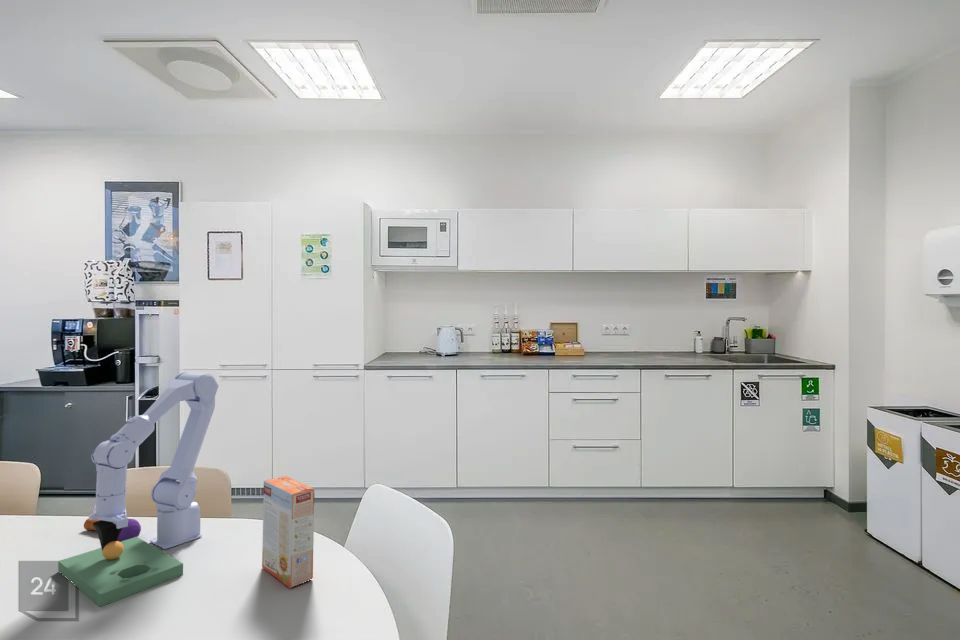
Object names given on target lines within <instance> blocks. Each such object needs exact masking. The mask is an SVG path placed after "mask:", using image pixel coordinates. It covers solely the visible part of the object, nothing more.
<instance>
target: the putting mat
mask: <svg viewBox="0 0 960 640" xmlns="http://www.w3.org/2000/svg"><path fill="white" fill-rule="evenodd" d="M121 543H122V544H123V547H124V550H123V553H122V554H121V555H120V556H119V557H118V558H116V559H113V560H108V559H106V558H104V556H103V554H102V552H103V551H102V548H101V547H98V548H96V549H93V550H90V551H86V552H84V553H80V554H77V555H74V556H71V557H68V558H67V557H66V558H63V559H61V560H58V561H57V562H58V563H57V564H58V566H57V569H58V570H57V571H59V572H61V573H62V574H63V575H64V576H66V577H67V578H68V579H69V580H70V581H72V582H73V583H74V584H75V585H76V586H77V587H78V588H79V589H80V590H79V591H81V592H82V593H83V594H84V595H85V596H86V597H88V598H89V597H90V598H91V599H90V598H89V599H90V600H91V601H93V602H94V601H95V602H96V603H97V604H96V603H95V602H94V603H95V604H96V605H97V606H98V607H100V606H101V607H104V606H105V605H108V603H109V604H111V603H114V602H115V601H116V602H117V601H118V600H121V599H124V598H126V597H129V596H131V595H134V594H137V593H139V592H142V591H145V590H146V589H150V588H151V587H154V586H157V585H160V584H162V583H164V582H167V581H169V580H172V579H174V578H177V577H180V576H183V575H184V563H183V562H181V561H179V560H178V559H176V558H174V557H173V556H171V555H169V554H167V553H166V552H164V551H162V550H161V549H159V548H157V547H156V546H154V545H151V544H150V543H149V542H147V541H145V540H144V539H142V538H140V537H139V536H138V537H134V538H131V539H128V540H124V541H121ZM59 572H58V573H59ZM63 575H62V576H63ZM64 576H63V577H64ZM69 580H68V581H69ZM70 581H69V582H70ZM75 585H74V586H75ZM76 586H75V587H76ZM77 587H76V588H77ZM78 588H77V589H78ZM103 605H104V606H103Z"/></svg>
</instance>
